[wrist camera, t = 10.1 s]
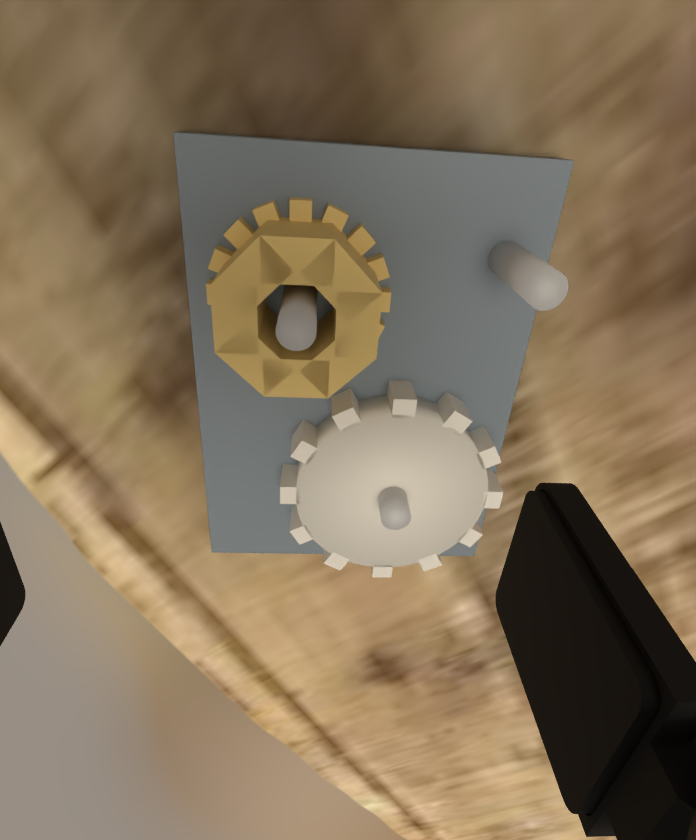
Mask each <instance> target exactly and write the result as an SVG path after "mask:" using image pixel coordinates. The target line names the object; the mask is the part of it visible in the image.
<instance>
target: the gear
mask: <svg viewBox="0 0 696 840" xmlns="http://www.w3.org/2000/svg"><path fill="white" fill-rule="evenodd" d="M252 212H253V214H254V216H255V219H256V221H257V224H258V226H259V227H258V228H257V230H256V231H254V230H253V229H252V227H251V226H250V225H249V224H248V223H247V222H246V221H245V220H244V219H243V218H242V217H240V218H239V219H238V220H237V221H236V222H235V223H234V224H233V225H232V226H231V227H230V228H229V229H228V230H227V231H226V232H225V233H224V236H225V237H226V238H227V239H228V241H229V242H230V243H231V244H232V245H233V246H234V247H235V248H236V249H237V250H236V251H235V252H233V251H231V250H229V249H226V248H224V247H222V246H220V245H217V247H216V248H215V250H214V253H213V255H212V258H211V261H210V264H209V267H208V269H210V270H212V271H214V272H216V273H218V274H217V275H216V277H215V278H214V279H209V280H208V282H207V283H206V291H207V304H208V305H211V311H212V324H213V337H214V351H215V354H217V355H218V356H219V357H220V358H221V359H222V360H223V361H224V362H226V363H227V364H228V365H229V366H230V367H231V368H232V369H233V370H235V371H236V372H237V373H238V374H239V375H240V376H241V377H242V378H244V379H245V380H246V381H247V382H248V383H249V384H250V385H251V386H253V387H254V388H255V389H256V390H257V391H258V392H259V393H260V394H262V395H263V396H264V397H295V398H327V399H328V398H329V397H330V396H332V395H333V394H334V393H335V392H337V391H338V390H339V389H340V388H341V387H343V386H344V385H345V384H346V383H348V382H349V381H350V380H351V379H352V378H354V377H355V376H356V375H357V374H358V373H360V372H361V371H362V370H363V369H365V368H366V367H367V366H368V365H369V364H371V363H372V362H373V361H374V360H376V359H377V348H378V339H379V337H380V335H381V333H382V331H383V329H384V327H385V325H384V321H383V320H381V319H380V316H381V312H389V311H390V301H391V290H390V288H389V287H380V285H379V282H378V281H381V280H384V279H386V278H389V277H390V276H389V273H388V269H387V266H386V263H385V260H384V257H383V254H382V253H380V254H377V255H375V256H372V257H369V258H365V257H364V256H363V254H365V253H366V252H367V251H368V250H369V249H370V248H371V247H372V246H373V245H374V244H376V242H375V239H374V238H373V237H372V236H371V234H370V233H369V232H368V231H367V230H366V228H365V227H364V226H363V225H362V224H361V223H360V224H359V225H358V226H357V227H356V228H355V229H353V230H352V231H351V232H350V233H349V234H348V235H347V236H346V235H345V233H344V232H343V231H342V230H343V227H344V225H345V223H346V221H347V219H348V216H349V214H348V212H346V211H344V210H342V209H340V208H338V207H336V206H334V205H332V204H330V203H328V205H327V207H326V209H325V212H324V214H323V216H322V219H312V198H300V197H290V217H281V215H280V213H279V210H278V208H277V205H276V203H275V200H272V201H269V202H267V203H264V204H261V205H259V206H256V207H254V208H253V210H252ZM280 284H283V285H305V286H315V288H316V289H317V290H318V291H319V292H320V293H321V294H322V295H323V296H324V297H325V298H326V299H327V300H328V301H329V302H330V303H331V305H332V306H333V308H332V309H331V310H330V311H329V312H328V313H327V314H326V315H325V316H323V317H322V318H321V319H320V320H319V321H318V322H317V333H316V338H315V341H314V342H313V344H312V345H311V346H310V347H309V348H307V349H305V350H302V351H292V350H288V349H286V348H285V347H283V346H282V345H281V344H280V343H279V341H278V339H277V337H276V325H277V320H278V316H277V315H276V314H275V313H274V312H273V311H272V310H271V309H270V308H269V307H268V306H267V296H268V295H270V294H271V293H272V292H273V291H274V290H275V289H276V288H277V287H278V286H279V285H280Z"/></svg>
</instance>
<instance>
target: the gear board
mask: <svg viewBox="0 0 696 840" xmlns="http://www.w3.org/2000/svg"><path fill="white" fill-rule="evenodd" d="M173 134H174V145H175V156H176V167H177V178H178V189H179V200H180V211H181V222H182V233H183V244H184V254H185V265H186V276H187V287H188V298H189V309H190V320H191V331H192V342H193V353H194V364H195V375H196V386H197V397H198V408H199V419H200V430H201V441H202V452H203V463H204V474H205V485H206V495H207V506H208V517H209V528H210V539H211V550H212V552H224V553H294V554H324V564H326V565H328V566H331V567H333V568H335V569H338V570H341V569H342V568H343V567H344V566H345V565H346V563H347V562H351V563H355V564H359V565H364V566H371V572H372V577H391V575H392V568H393V567H398V566H406V565H410V564H415V563H418V562H419V564H420V565H421V567H422V569H423V570H424V572H425V571H427V570H430V569H433V568H435V567H438V566H441V565H442V563H441V559H440V556H474V555H475V551H476V547H477V543H478V539H479V538H480V537H481V536H482V535H483V533H482V531H481V527H482V523H483V519H484V515H485V512H486V508H499V507H500V503H501V499H502V496H503V490H502V488H501V486H500V484H499V482H498V480H497V478H496V476H495V472H496V468H497V464H499V463H501V460H500V457H499V456H500V452H501V448H502V444H503V440H504V436H505V432H506V428H507V424H508V421H509V417H510V413H511V409H512V405H513V401H514V397H515V393H516V389H517V385H518V381H519V377H520V373H521V369H522V365H523V361H524V357H525V353H526V349H527V345H528V341H529V337H530V333H531V330H532V326H533V322H534V318H535V314H536V310H540V311H547V310H551V309H553V308H555V307H557V306H558V305H559V304H560V303H561V302H562V301H563V300H564V299H565V297H566V295H567V292H568V280H567V278H566V276H565V275H564V274H563V273H561V272H560V271H558V270H557V269H555V268H554V267H552V266H551V265H549V264H548V262H549V258H550V254H551V250H552V246H553V242H554V239H555V235H556V231H557V227H558V223H559V219H560V215H561V211H562V207H563V203H564V199H565V195H566V191H567V187H568V183H569V179H570V175H571V171H572V167H573V163H574V161H573V160H568V159H562V158H552V157H538V156H524V155H510V154H495V153H481V152H467V151H453V150H439V149H424V148H410V147H396V146H382V145H367V144H353V143H339V142H325V141H311V140H296V139H282V138H268V137H254V136H240V135H225V134H211V133H197V132H183V131H182V132H173ZM290 197H300V198H312V219H322V216H323V214H324V212H325V209H326V207H327V205H328V203H330V204H332V205H334V206H336V207H338V208H340V209H342V210H344V211H346V212H348V214H349V216H348V219H347V221H346V223H345V225H344V227H343V230H342V231H343V232H344V233H345V235H346V236H347V235H348V234H349V233H350V232H351V231H352V230H353V229H355V228H356V227H357V226H358V225H359V224H360V223H361V224H362V225H363V226H364V227H365V228H366V230H367V231H368V232H369V233H370V234H371V236H372V237H373V238H374V239H375V242H376V244H374V245H373V246H372V247H371V248H370V249H369V250H368V251H367V252H366V253H365V254H363V256H364V257H365V258H369V257H372V256H375V255H377V254H380V253H382V254H383V257H384V260H385V263H386V266H387V269H388V273H389V276H390V277H389V278H386V279H384V280H381V281H378V282H379V285H380V287H389V288H390V290H391V301H390V311H389V312H381V316H380V319H381V320H383V321H384V325H385V327H384V329H383V331H382V333H381V335H380V337H379V339H378V348H377V359H376V360H374V361H373V362H372V363H371V364H369V365H368V366H367V367H366V368H365V369H363V370H362V371H361V372H360V373H358V374H357V375H356V376H355V377H354V378H352V379H351V380H350V381H349V382H348V383H346V384H345V385H344V386H343V387H341V388H340V389H339V390H338V391H337V392H335V393H334V394H333V395H332V396H330V397H329V398H328V399H327V398H295V397H264V396H263V395H262V394H260V393H259V392H258V391H257V390H256V389H255V388H254V387H253V386H251V385H250V384H249V383H248V382H247V381H246V380H245V379H244V378H242V377H241V376H240V375H239V374H238V373H237V372H236V371H235V370H233V369H232V368H231V367H230V366H229V365H228V364H227V363H226V362H224V361H223V360H222V359H221V358H220V357H219V356H218V355H217V354H215V351H214V337H213V324H212V311H211V305H208V304H207V291H206V283H207V282H208V280H209V279H214V278H215V277H216V275H217V274H218V273H216V272H214V271H212V270H210V269H208V267H209V264H210V261H211V258H212V255H213V253H214V250H215V248H216V247H217V245H220V246H222V247H224V248H226V249H229V250H231V251H233V252H235V251H236V250H237V249H236V248H235V247H234V246H233V245H232V244H231V243H230V242H229V241H228V239H227V238H226V237H225V236H224V233H225V232H226V231H227V230H228V229H229V228H230V227H231V226H232V225H233V224H234V223H235V222H236V221H237V220H238V219H239V218H240V217H242V218H243V219H244V220H245V221H246V222H247V223H248V224H249V225H250V226H251V227H252V229H253V230H254V231H256V230H257V228H258V227H259V226H258V224H257V221H256V219H255V216H254V214H253V212H252V210H253V208H254V207H256V206H259V205H261V204H264V203H267V202H269V201H272V200H275V203H276V205H277V208H278V210H279V213H280V215H281V217H290ZM267 306H268V307H269V308H270V309H271V310H272V311H273V312H274V313H275V314H276V315H277V316H278V320H277V325H276V337H277V339H278V341H279V343H280V344H281V345H282V346H283V347H285V348H286V349H288V350H292V351H302V350H305V349H307V348H309V347H310V346H311V345H312V344H313V342H314V341H315V338H316V333H317V322H318V321H319V320H320V319H321V318H322V317H323V316H325V315H326V314H327V313H328V312H329V311H330V310H331V309H332V308H333V306H332V305H331V303H330V302H329V301H328V300H327V299H326V298H325V297H324V296H323V295H322V294H321V293H320V292H319V291H318V290H317V289H316V288H315V286H305V285H283V284H280V285H279V286H278V287H277V288H276V289H275V290H274V291H273V292H272V293H271V294H270V295H268V296H267Z"/></svg>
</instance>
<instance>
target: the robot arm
mask: <svg viewBox="0 0 696 840" xmlns="http://www.w3.org/2000/svg"><path fill="white" fill-rule="evenodd" d="M24 601H25V588H24V585H23V582H22V580H21V577H20V574H19V571H18V569H17V566H16V563H15V561H14V558H13V555H12V552H11V550H10V547H9V544H8V542H7V539H6V536H5V533H4V531H3V528H2V525H1V523H0V646H1V644H2V642H3V641H4V639H5V637H6V636H7V634H8V632H9V630H10V628H11V627H12V625H13V624H14V622H15V620H16V619H17V617H18V615H19V613H20V611H21V610H22V608H23V605H24ZM496 608H497V612H498V615H499V618H500V621H501V624H502V627H503V629H504V632H505V635H506V638H507V641H508V644H509V647H510V649H511V652H512V655H513V658H514V661H515V664H516V666H517V669H518V672H519V675H520V678H521V681H522V684H523V686H524V689H525V692H526V695H527V698H528V701H529V703H530V706H531V709H532V712H533V715H534V718H535V721H536V723H537V726H538V729H539V732H540V735H541V738H542V740H543V743H544V746H545V749H546V752H547V755H548V758H549V760H550V763H551V766H552V769H553V772H554V775H555V778H556V780H557V783H558V786H559V789H560V792H561V795H562V797H563V800H564V802H565V805H566V806H567V808H568V810H569V811H570V812H571V813H573V814H578V815H579V818H580V820H581V823H582V826H583V829H584V831H585V834H586V837H594V836H616V838H617V840H696V662H695V660H694V659H693V658H692V656H691V655H690V653H689V652H688V650H687V649H686V647H685V646H684V644H683V643H682V641H681V640H680V638H679V637H678V635H677V634H676V632H675V631H674V629H673V628H672V626H671V625H670V623H669V622H668V621H667V619H666V618H665V616H664V615H663V613H662V612H661V610H660V609H659V607H658V606H657V604H656V603H655V601H654V600H653V598H652V597H651V595H650V594H649V592H648V591H647V589H646V588H645V586H644V585H643V583H642V582H641V581H640V579H639V578H638V576H637V575H636V573H635V572H634V570H633V569H632V568H631V566H630V565H629V563H628V562H627V560H626V559H625V557H624V556H623V554H622V553H621V552H620V550H619V549H618V547H617V546H616V544H615V543H614V541H613V540H612V538H611V537H610V535H609V534H608V532H607V531H606V529H605V528H604V526H603V525H602V523H601V522H600V520H599V519H598V517H597V516H596V514H595V513H594V511H593V510H592V509H591V507H590V506H589V504H588V503H587V501H586V500H585V498H584V497H583V495H582V494H581V492H580V491H579V489H578V488H577V487H576V486H575V485H573V484H570V483H540V484H539V485H538V486H537V487H536V489H535V491H529V492H528V493H527V494H526V497H525V500H524V503H523V506H522V509H521V513H520V516H519V519H518V522H517V526H516V529H515V532H514V536H513V539H512V542H511V545H510V549H509V552H508V555H507V558H506V562H505V565H504V568H503V571H502V575H501V578H500V581H499V584H498V588H497V591H496Z"/></svg>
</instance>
